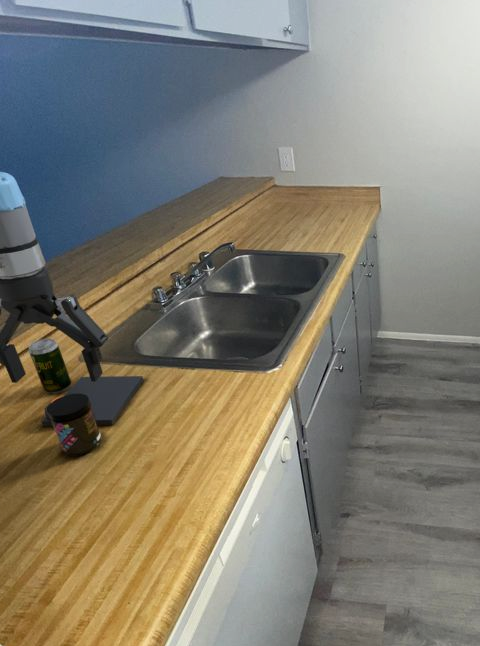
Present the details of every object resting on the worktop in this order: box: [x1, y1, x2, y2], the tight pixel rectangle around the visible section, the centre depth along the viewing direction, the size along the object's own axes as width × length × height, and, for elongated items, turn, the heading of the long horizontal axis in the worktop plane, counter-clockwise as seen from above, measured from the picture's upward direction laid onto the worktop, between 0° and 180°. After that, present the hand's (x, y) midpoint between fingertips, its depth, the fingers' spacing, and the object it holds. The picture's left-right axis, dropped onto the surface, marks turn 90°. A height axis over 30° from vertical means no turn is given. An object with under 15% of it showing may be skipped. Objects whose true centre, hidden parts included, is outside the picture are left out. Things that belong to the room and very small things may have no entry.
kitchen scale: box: [40, 375, 144, 427], centre depth 106 cm, size 14×16×3 cm
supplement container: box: [46, 393, 102, 457], centre depth 92 cm, size 7×7×10 cm
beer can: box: [28, 338, 72, 395], centre depth 108 cm, size 5×5×12 cm
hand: (58, 378), depth 87 cm, fingers open, 13 cm apart
